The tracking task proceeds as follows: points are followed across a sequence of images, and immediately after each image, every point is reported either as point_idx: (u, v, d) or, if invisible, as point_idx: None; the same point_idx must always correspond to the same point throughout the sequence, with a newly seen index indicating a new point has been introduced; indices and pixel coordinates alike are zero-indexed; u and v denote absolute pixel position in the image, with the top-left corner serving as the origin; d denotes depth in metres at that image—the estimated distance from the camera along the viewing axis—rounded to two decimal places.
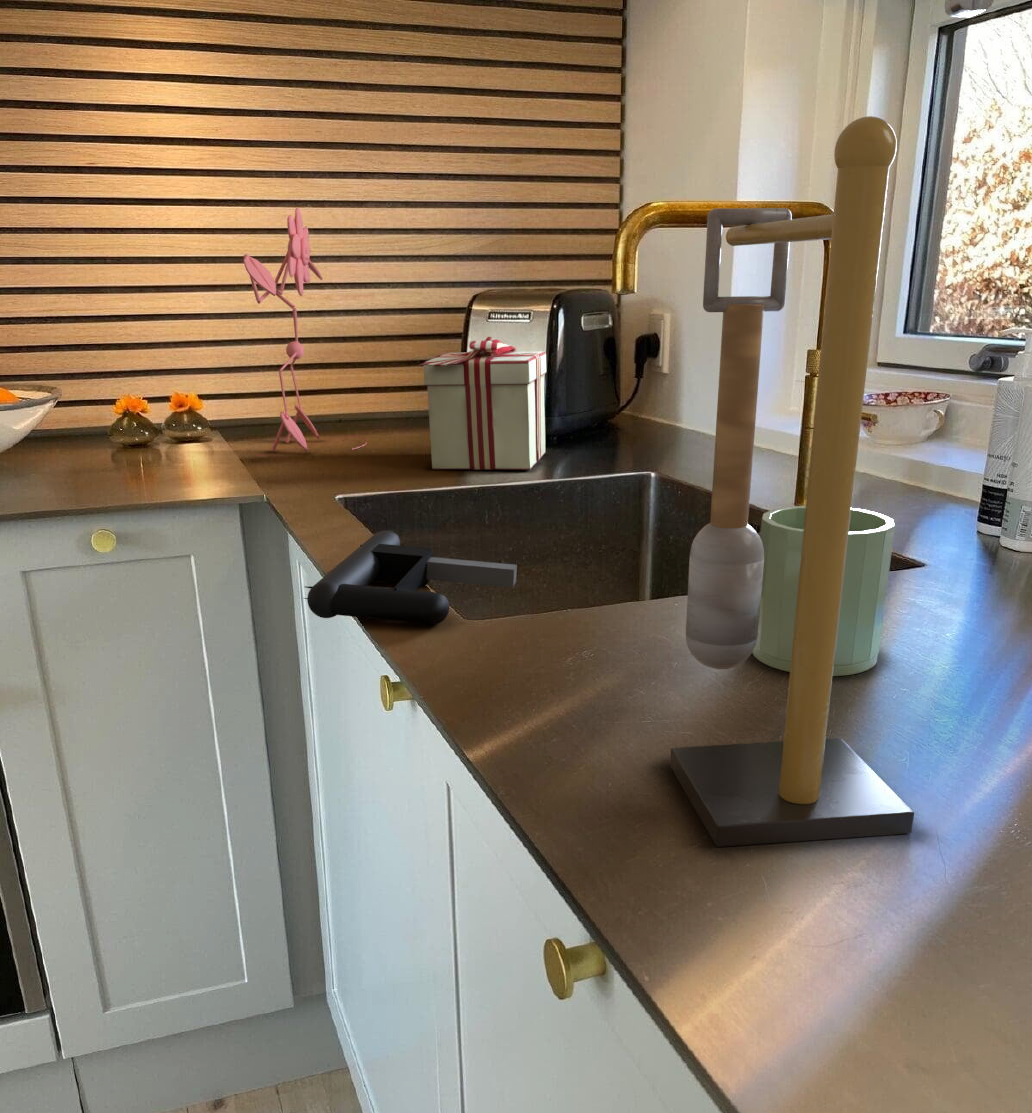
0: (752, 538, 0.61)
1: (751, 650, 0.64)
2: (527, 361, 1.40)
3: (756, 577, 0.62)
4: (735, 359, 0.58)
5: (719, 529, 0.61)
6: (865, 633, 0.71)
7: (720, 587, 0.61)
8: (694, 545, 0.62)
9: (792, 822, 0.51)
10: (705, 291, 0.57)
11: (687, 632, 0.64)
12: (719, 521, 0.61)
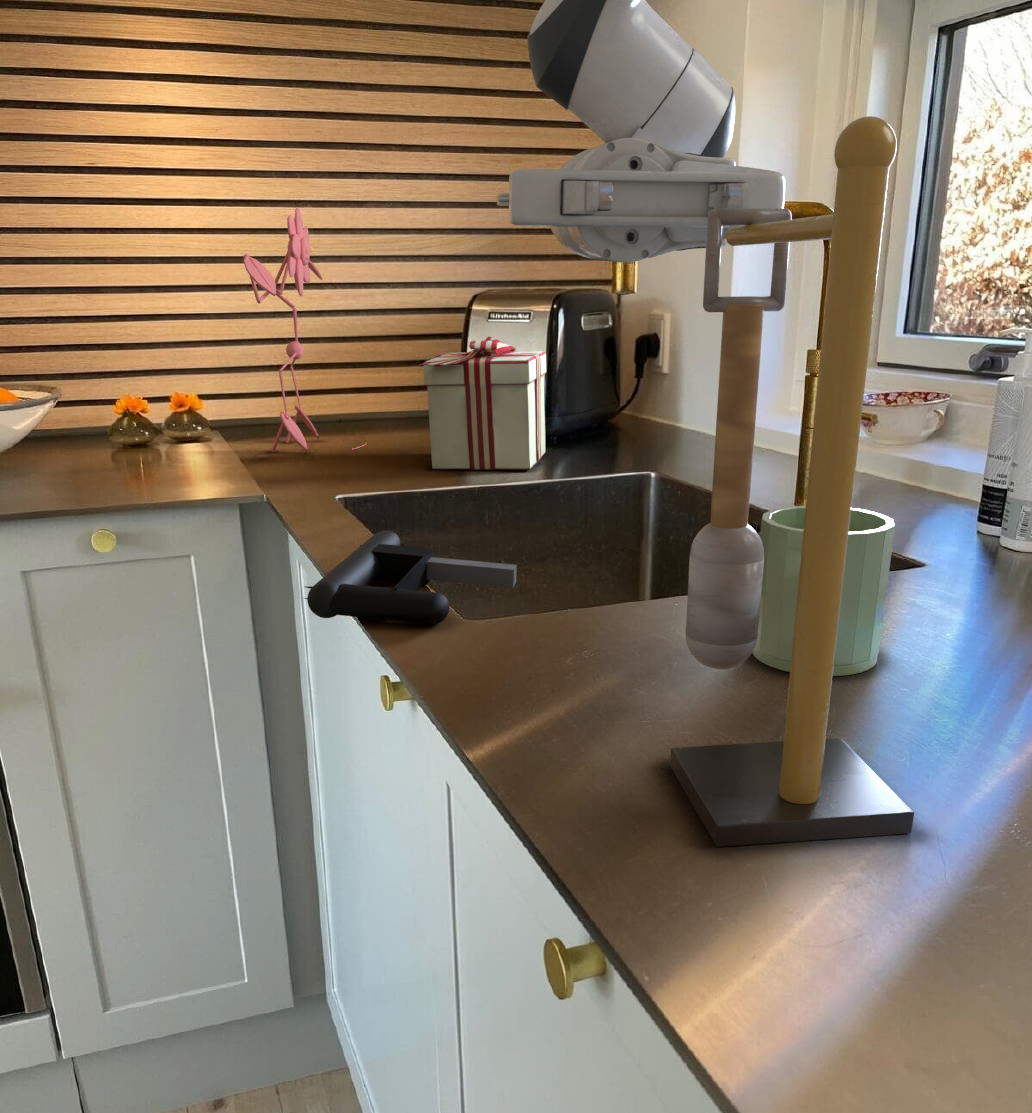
0: (752, 538, 0.61)
1: (751, 650, 0.64)
2: (527, 361, 1.40)
3: (756, 577, 0.62)
4: (735, 359, 0.58)
5: (719, 529, 0.61)
6: (865, 633, 0.71)
7: (720, 587, 0.61)
8: (694, 545, 0.62)
9: (792, 822, 0.51)
10: (705, 291, 0.57)
11: (687, 632, 0.64)
12: (719, 521, 0.61)
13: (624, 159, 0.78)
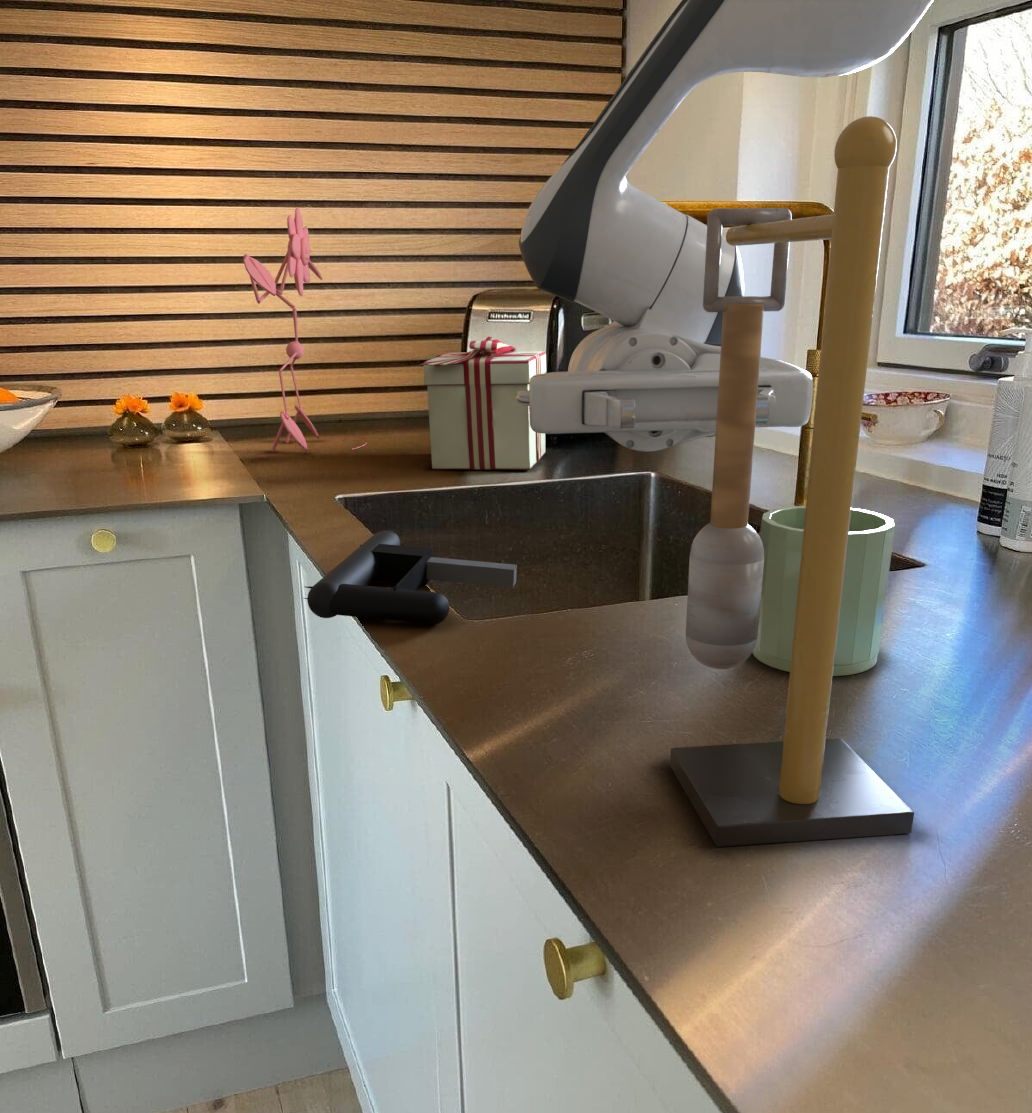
0: (752, 538, 0.61)
1: (751, 650, 0.64)
2: (527, 361, 1.40)
3: (756, 577, 0.62)
4: (735, 359, 0.58)
5: (719, 529, 0.61)
6: (865, 633, 0.71)
7: (720, 587, 0.61)
8: (694, 545, 0.62)
9: (792, 822, 0.51)
10: (705, 291, 0.57)
11: (687, 632, 0.64)
12: (719, 521, 0.61)
13: (646, 356, 0.77)
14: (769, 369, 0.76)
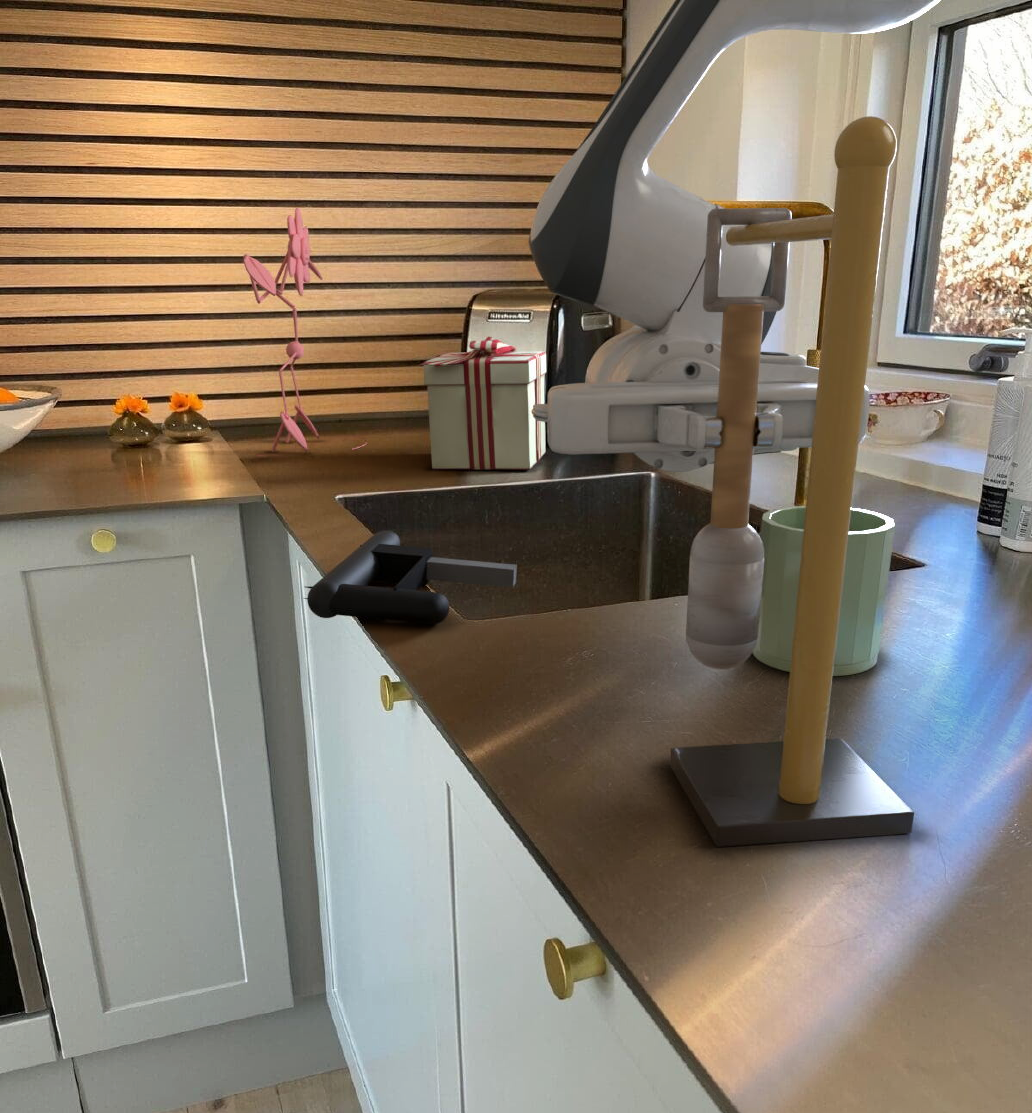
0: (752, 538, 0.61)
1: (751, 650, 0.64)
2: (527, 361, 1.40)
3: (757, 577, 0.62)
4: (735, 359, 0.58)
5: (719, 529, 0.61)
6: (865, 633, 0.71)
7: (720, 587, 0.61)
8: (694, 545, 0.62)
9: (792, 822, 0.51)
10: (705, 291, 0.57)
11: (687, 632, 0.64)
12: (719, 521, 0.61)
13: (679, 366, 0.68)
14: None
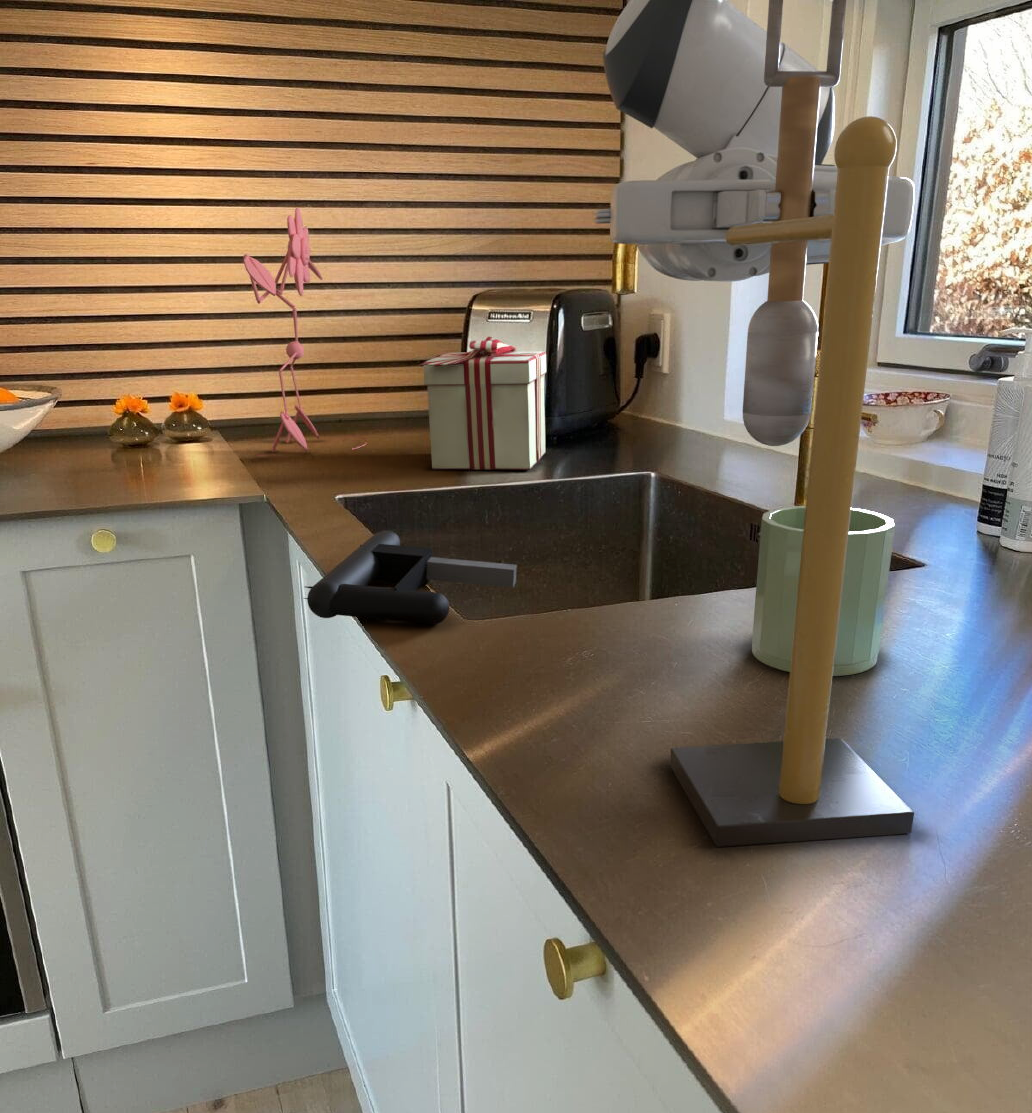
0: (807, 310, 0.65)
1: (805, 424, 0.68)
2: (527, 361, 1.40)
3: (811, 349, 0.66)
4: (794, 131, 0.62)
5: (776, 302, 0.65)
6: (865, 633, 0.71)
7: (778, 357, 0.66)
8: (752, 321, 0.66)
9: (792, 822, 0.51)
10: (766, 65, 0.61)
11: (744, 409, 0.69)
12: (776, 295, 0.65)
13: (733, 169, 0.72)
14: None
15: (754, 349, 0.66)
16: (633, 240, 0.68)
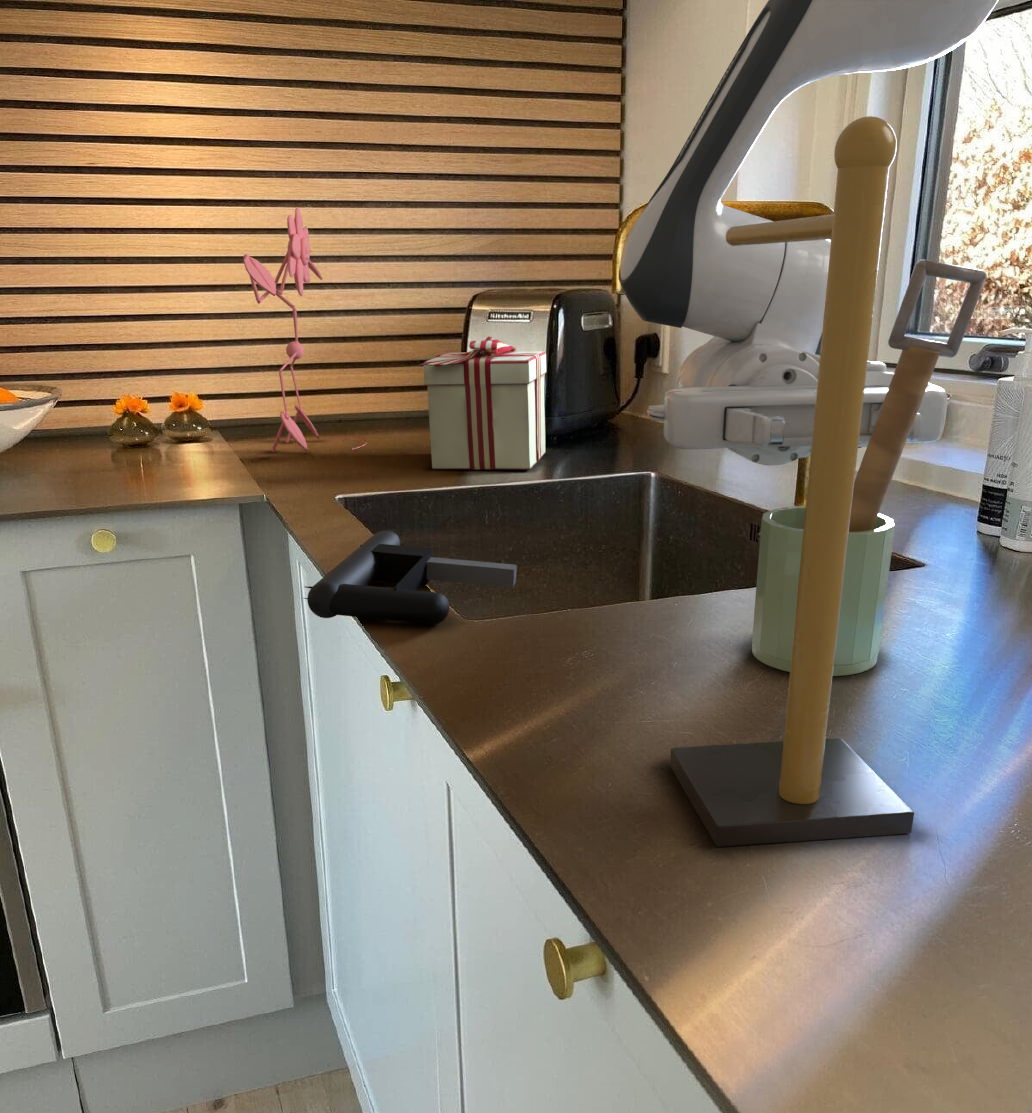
0: None
1: None
2: (527, 361, 1.40)
3: None
4: (904, 394, 0.65)
5: None
6: (865, 633, 0.71)
7: None
8: None
9: (792, 822, 0.51)
10: (894, 330, 0.64)
11: None
12: (849, 526, 0.70)
13: (778, 372, 0.78)
14: None
15: None
16: None
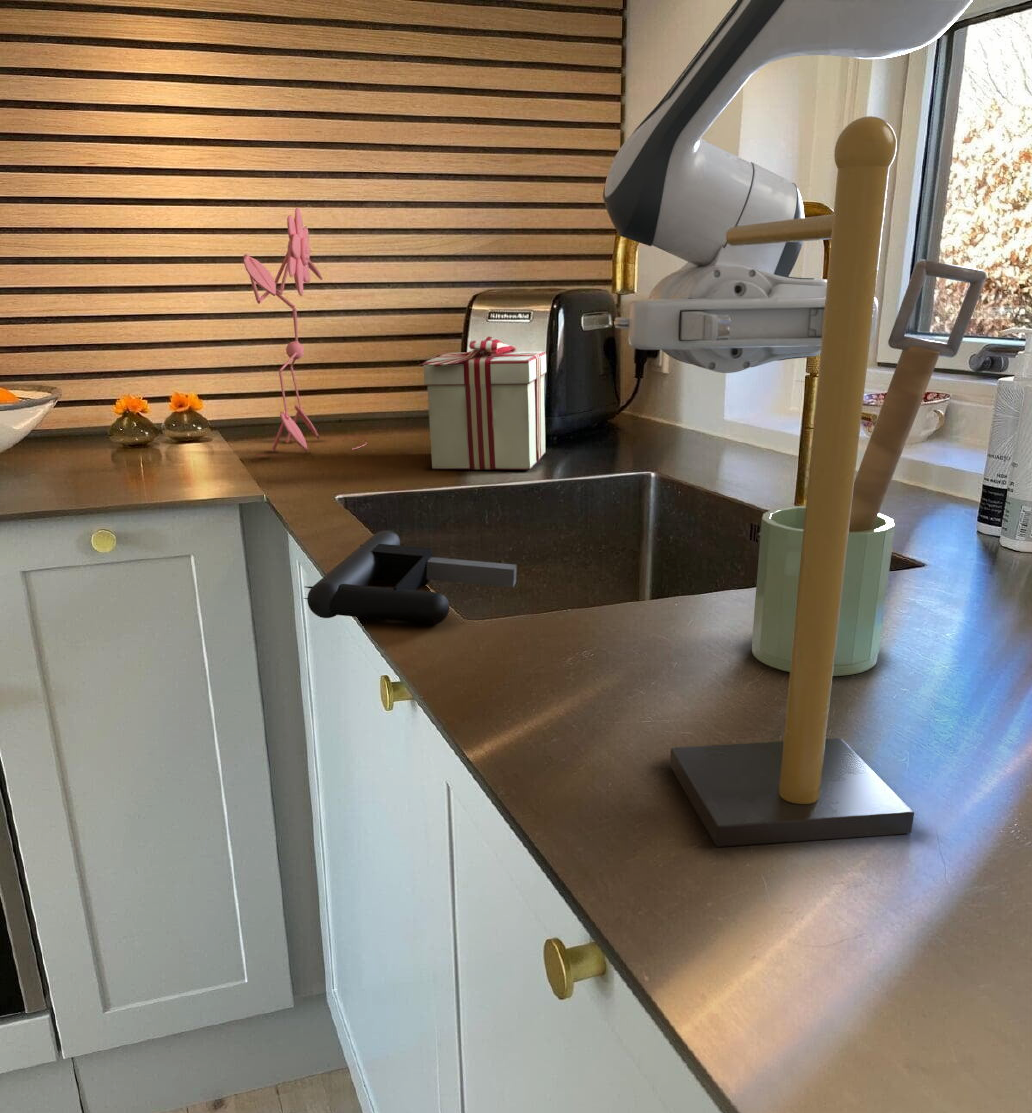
0: None
1: None
2: (527, 361, 1.40)
3: None
4: (904, 394, 0.65)
5: None
6: (865, 633, 0.71)
7: None
8: None
9: (792, 822, 0.51)
10: (894, 330, 0.64)
11: None
12: (849, 526, 0.70)
13: (730, 285, 0.87)
14: None
15: None
16: (648, 349, 0.83)
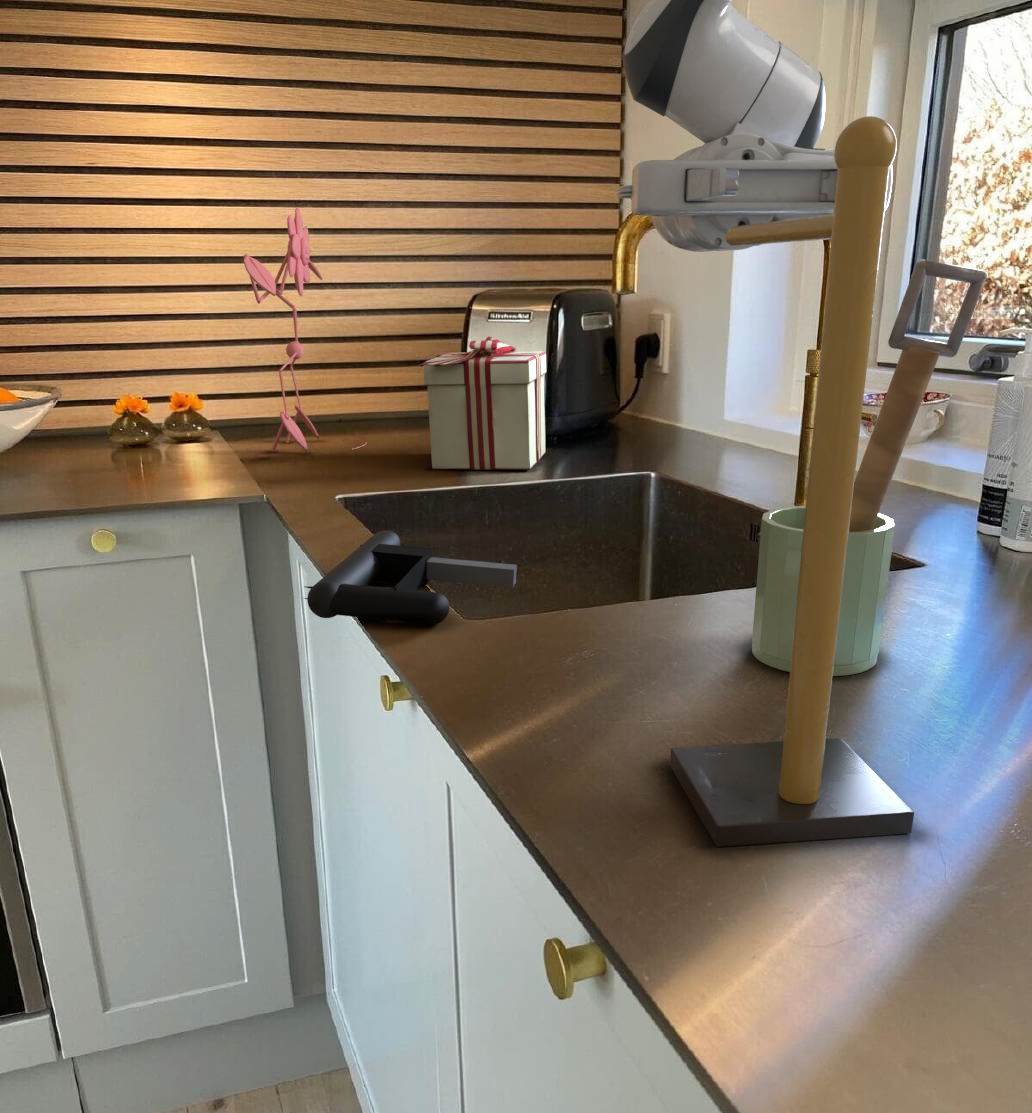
0: None
1: None
2: (527, 361, 1.40)
3: None
4: (904, 394, 0.65)
5: None
6: (865, 633, 0.71)
7: None
8: None
9: (792, 822, 0.51)
10: (894, 330, 0.64)
11: None
12: (849, 526, 0.70)
13: (738, 152, 0.84)
14: None
15: None
16: (652, 211, 0.80)
